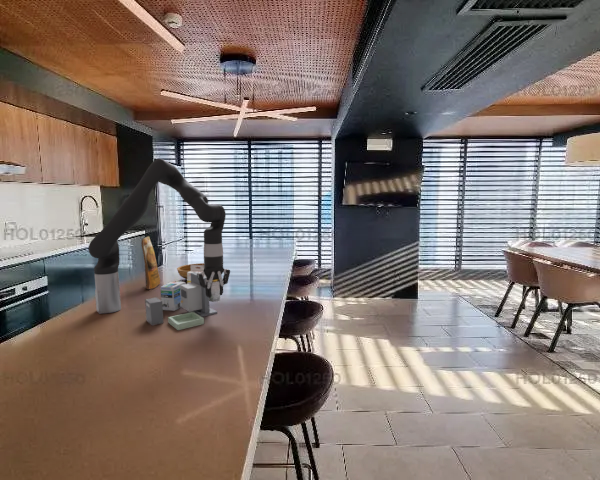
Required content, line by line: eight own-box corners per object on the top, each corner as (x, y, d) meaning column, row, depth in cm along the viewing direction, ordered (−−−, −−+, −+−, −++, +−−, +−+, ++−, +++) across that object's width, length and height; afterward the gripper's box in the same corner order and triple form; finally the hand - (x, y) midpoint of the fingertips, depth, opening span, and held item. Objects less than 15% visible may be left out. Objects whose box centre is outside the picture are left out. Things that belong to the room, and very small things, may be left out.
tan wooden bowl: (180, 275, 225) (180, 263, 224) (219, 273, 230) (219, 261, 229) (174, 287, 196) (173, 273, 195) (219, 284, 201) (218, 271, 200)
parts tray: (177, 330, 134) (177, 324, 133) (168, 322, 142) (167, 317, 141) (204, 323, 140) (203, 318, 140) (193, 316, 148) (193, 311, 148)
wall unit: (191, 319, 145) (189, 281, 143) (177, 309, 158) (175, 274, 156) (217, 313, 153) (215, 277, 151) (201, 304, 165) (200, 270, 163)
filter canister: (212, 302, 141) (211, 280, 139) (207, 299, 144) (206, 278, 143) (222, 300, 143) (221, 279, 142) (217, 297, 147) (216, 277, 146)
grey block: (151, 325, 139) (150, 303, 138) (146, 320, 144) (144, 299, 143) (163, 322, 142) (162, 301, 141) (157, 318, 147) (156, 297, 146)
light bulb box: (174, 311, 156) (173, 287, 155) (161, 310, 157) (159, 286, 156) (187, 303, 166) (186, 281, 165) (174, 303, 168) (172, 280, 166)
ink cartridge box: (187, 294, 181) (186, 266, 179) (191, 292, 186) (190, 264, 184) (203, 295, 180) (202, 267, 179) (207, 292, 185) (205, 265, 184)
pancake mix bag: (139, 290, 190) (136, 239, 186) (151, 282, 209) (148, 234, 205) (152, 290, 191) (149, 238, 187) (163, 281, 209) (160, 234, 206)
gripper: (225, 251, 149) (226, 291, 151) (192, 254, 140) (193, 297, 142) (233, 253, 143) (234, 294, 145) (200, 257, 134) (201, 301, 136)
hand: (214, 295), depth 143 cm, fingers closed on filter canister, 4 cm apart
